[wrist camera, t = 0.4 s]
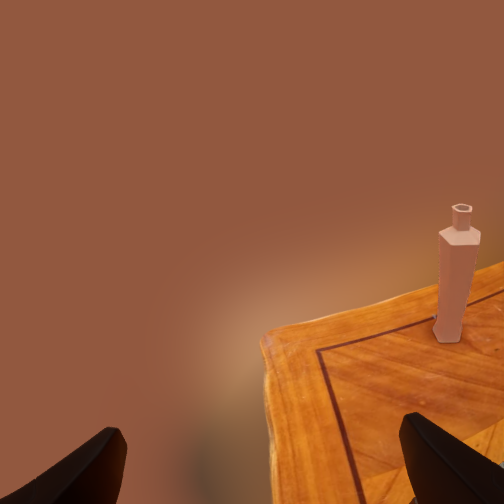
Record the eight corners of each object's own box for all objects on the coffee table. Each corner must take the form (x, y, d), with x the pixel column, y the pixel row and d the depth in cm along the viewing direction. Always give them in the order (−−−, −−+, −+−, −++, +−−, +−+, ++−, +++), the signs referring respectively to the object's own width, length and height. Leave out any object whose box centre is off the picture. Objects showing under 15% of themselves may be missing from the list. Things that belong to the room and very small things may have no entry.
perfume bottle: (472, 340, 28) (494, 213, 21) (439, 349, 29) (456, 220, 22) (457, 315, 32) (470, 197, 26) (426, 323, 33) (434, 202, 26)
